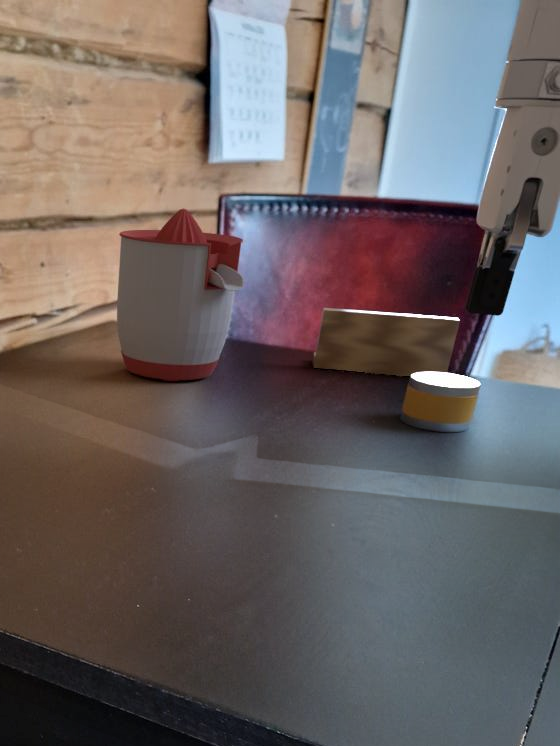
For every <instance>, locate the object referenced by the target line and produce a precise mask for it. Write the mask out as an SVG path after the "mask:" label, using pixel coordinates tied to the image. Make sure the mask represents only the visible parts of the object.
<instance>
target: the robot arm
mask: <svg viewBox="0 0 560 746" xmlns="http://www.w3.org/2000/svg"><path fill="white" fill-rule="evenodd" d="M512 33H513V34H512V37H511V39H510V45H509V49H508V52H507V55H506V59H505V64H504V68H503V72H502V76H501V80H500V84H499V88H498V91H497V95H496V100H495V103H494V106H493V107H494V109H498V110H499V109H500V110H505V111H504V115H503V118H502V120H501V121H502V122H501V125H500V128H499V131H498V133H497V137H496V141H495V144H494V147H493V152H492V155H491V157H490V162H489V165H488V168H487V172H486V176H485V180H484V184H483V188H482V191H481V194H480V195H481V196H480V198H479V199H480V200H479V204H478V209H477V214H476V224H477V225H478V226H479V227H480V229H482V230H484V234H483V238H482V242H481V247H480V251H479V256H478V260H477V266H475V270H474V272H473V277H472V280H471V284H470V288H469V292H468V294H467V298H466V303H465V307H464V308H465V310H466V311H467V312H468V313H470V314H475V315H487V316H496V317H497V316H501V315H502V314H503V313H504V310H505V307H506V303H507V300H508V296H509V293H510V289H511V286H512V282H513V279H514V276H515V273H516V272H515V270H516V268H517V266H518V262H519V259H520V256H521V254H522V251H523V249H524V247H525V243H526V239H527V235H530V236H534V237H537V238H544V237H546V236H548V235H549V234H550V233H551V231H552V229H553V226H554V223H555V219H556V215H557V212H558V208H559V205H560V0H521V2H520V5H519V10H518V14H517V18H516V21H515V26H514V29H513V32H512ZM504 229H505V230H504Z"/></svg>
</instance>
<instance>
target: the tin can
mask: <svg viewBox="0 0 560 746" xmlns="http://www.w3.org/2000/svg"><path fill="white" fill-rule="evenodd" d="M481 384H482V383H481V382H480V381H478V380H477V379H474V378H472V377H468V376H465V375H460V374H456V373H451V372H447V373H442V372H417V373H413V374H411V375H410V377H409V379H408V384H407V386H406V391H405V393H404V394H405V395H404V399H403V404H402V408H401V414H400V421H401V422H402V423H403V424H406V425H408V426H410V427H412V428H416V429H421V430H423V431H424V430H425V431H430V432H438V433H462V432H466V431H467V430H469V429H470V425H471V422H472V419H473V416H474V413H475V410H476V407H477V402H478V398H479V395H480V389H481Z"/></svg>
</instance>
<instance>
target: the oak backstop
mask: <svg viewBox="0 0 560 746" xmlns="http://www.w3.org/2000/svg"><path fill="white" fill-rule="evenodd" d="M460 322H461V320H460V319H459V317H452V316H441V315H440V316H438V315H428V314H427V315H426V314H425V315H424V314H413V313H398V312H385V311H373V310H362V309H361V310H360V309H359V310H358V309H346V308H334V307H323V308H322V314H321V319H320V323H319V331H318V336H317V342H316V347H315V351H314V352H313V353H312V359H313V361H312V367H313V366H314V367H313V369H314V368H325V369H337V370H347V371H357V372H365V373H364V374H367V373H371V374H370V375H379V374H385V375H384V376H390V375H396V376H395V377H402V376H410V375H411V374H413V373H417V372H442V373H448V370H449V366H450V362H451V358H452V353H453V350H454V346H455V341H456V337H457V334H458V329H459V325H460ZM373 373H374V374H373Z"/></svg>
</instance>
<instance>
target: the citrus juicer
mask: <svg viewBox="0 0 560 746" xmlns="http://www.w3.org/2000/svg"><path fill="white" fill-rule="evenodd" d="M118 235H119V236H120V249H119V250H120V251H119V268H118V281H117V283H118V285H117V300H116V322H117V323H116V324H117V334H118V340H119V346H120V349H121V350H120V353H121V357H122V359H123V363H124V366H125V368H126V370H127V371H129V372H130V373H132V374H135V375H139V376H142V377H146V378H152V379H160V380H162V381H163V380H164V381H163V382H165V381H177V382H179V381H191V380H199V379H204V378H207V377H209V376H211V375H212V373H213V372H214V370H215V368H216V366H217V364H218V362H219V360H220V356H221V353H222V351H223V348H224V346H225V344H226V341H227V340H226V339H227V337H228V333H229V330H230V326H231V321H232V315H233V309H234V299H235V292H236V291H237V292H238V291H241V290H242V289H243V288H244V278H243V275H242V274H240V273H239V272H238V271H239V263H240V257H241V256H240V255H241V248H242V247H241V246H242V244H243V243H244V240H243V238H241V237H237V236H233V235H228V234H220V233H212V232H203V230H202V228H201V227H200V225H199V223H198V222H197V221H196V219H195V218H194V216H193V214H191V213H190V211H189V210H188V209H186V208H181V209H179V210H178V211H176V212H175V213H174V214H173V215H172V216H171V217H170V218H169V219H168V220H167V221H166V222H165V224H164V225H163V226H162V228H161V229H132V230H131V229H130V230H123V231H120V232H119V234H118Z"/></svg>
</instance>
